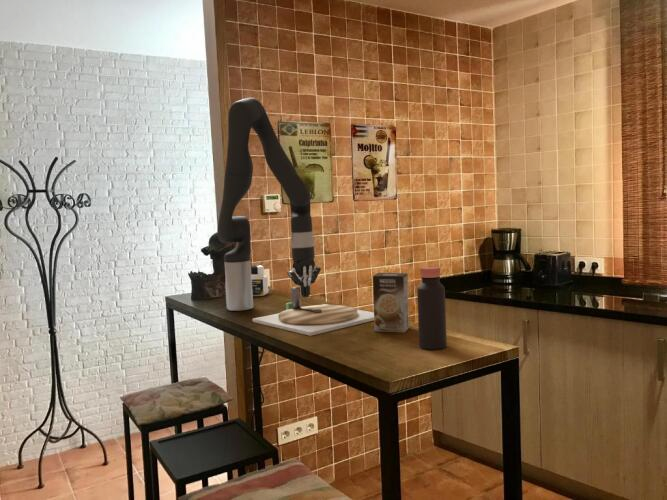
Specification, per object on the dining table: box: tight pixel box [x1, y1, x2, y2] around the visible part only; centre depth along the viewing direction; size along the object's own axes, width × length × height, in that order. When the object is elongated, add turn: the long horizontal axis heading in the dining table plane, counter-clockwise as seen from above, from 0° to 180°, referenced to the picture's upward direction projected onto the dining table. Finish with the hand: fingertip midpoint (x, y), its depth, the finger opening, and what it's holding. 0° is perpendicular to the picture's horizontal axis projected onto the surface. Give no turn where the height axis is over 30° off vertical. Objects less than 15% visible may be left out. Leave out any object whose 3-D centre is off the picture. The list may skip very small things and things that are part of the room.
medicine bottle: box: [251, 264, 269, 297], centre depth 240 cm, size 7×7×12 cm
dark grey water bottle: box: [416, 266, 448, 351], centre depth 146 cm, size 7×7×20 cm
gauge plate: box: [252, 301, 374, 337], centre depth 186 cm, size 30×30×4 cm
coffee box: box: [372, 272, 410, 333], centre depth 167 cm, size 9×6×16 cm
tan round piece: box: [278, 286, 358, 324], centre depth 185 cm, size 25×25×8 cm
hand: (305, 297), depth 196 cm, fingers closed
